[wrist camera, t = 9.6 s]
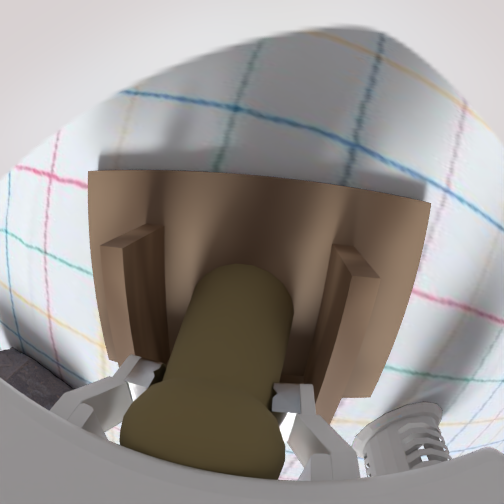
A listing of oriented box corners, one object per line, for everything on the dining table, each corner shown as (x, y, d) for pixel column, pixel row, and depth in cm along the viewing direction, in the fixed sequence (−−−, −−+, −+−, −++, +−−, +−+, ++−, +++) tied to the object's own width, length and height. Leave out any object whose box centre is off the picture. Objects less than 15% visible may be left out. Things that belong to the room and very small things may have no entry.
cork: (182, 265, 15) (55, 405, 5) (292, 261, 14) (306, 451, 4) (199, 353, 17) (135, 501, 6) (294, 353, 16) (294, 524, 6)
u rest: (423, 201, 14) (478, 218, 8) (367, 388, 18) (383, 443, 13) (97, 170, 15) (36, 177, 10) (114, 352, 19) (80, 395, 14)
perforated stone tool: (95, 389, 22) (61, 435, 15) (100, 416, 23) (73, 458, 17) (5, 329, 22) (-30, 356, 15) (13, 359, 24) (-16, 387, 17)
